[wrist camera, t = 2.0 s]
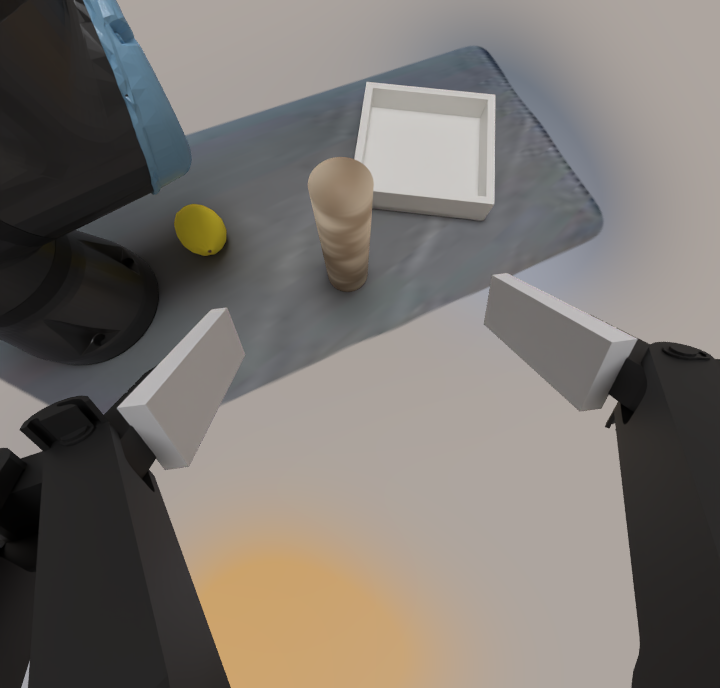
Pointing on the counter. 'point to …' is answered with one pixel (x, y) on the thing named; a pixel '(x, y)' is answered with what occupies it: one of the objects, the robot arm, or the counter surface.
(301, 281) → the counter surface
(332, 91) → the counter surface
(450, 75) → the counter surface
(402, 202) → the tray
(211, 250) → the lemon
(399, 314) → the counter surface
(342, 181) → the dowel
